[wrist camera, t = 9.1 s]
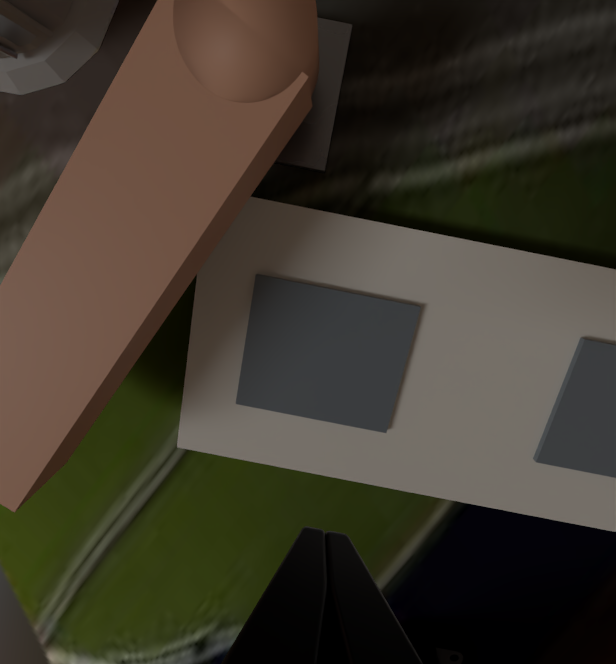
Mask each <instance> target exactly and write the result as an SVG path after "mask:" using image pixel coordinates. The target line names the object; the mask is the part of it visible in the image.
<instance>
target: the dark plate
mask: <svg viewBox="0 0 616 664" xmlns="http://www.w3.org/2000/svg"><path fill="white" fill-rule="evenodd" d="M317 23H318V44H319V74H318V80H317V83H316V86H315V89H314V92H313V94H312V96H311V99H312V108H311V109H310V111H309V112H308V114H307V115H306V117H305V118H304V120H303V121H302V122H301V124H300V125H299V127H298V128H297V130H296V131H295V133H294V134H293V136H292V137H291V138H290V140H289V141H288V143H287V144H286V146H285V147H284V149H283V150H282V151H281V153H280V154H279V156H278V157H277V159H276V160H275V162H274V163H276V164H281V165H286V166H291V167H296V168H301V169H306V170H311V171H316V172H321V173H325V169H326V164H327V159H328V154H329V148H330V143H331V138H332V133H333V127H334V122H335V117H336V112H337V106H338V101H339V96H340V91H341V85H342V80H343V75H344V70H345V64H346V59H347V54H348V48H349V43H350V38H351V31H352V24H347V23H343V22H338V21H333V20H328V19H323V18H318V17H317Z"/></svg>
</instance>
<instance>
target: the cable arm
mask: <svg viewBox="0 0 616 664" xmlns="http://www.w3.org/2000/svg"><path fill="white" fill-rule="evenodd" d="M318 74H319V44H318V23H317V7H316V1H315V0H157V2H156V4H155V6H154V7H153V9H152V11H151V13H150V15H149V17H148V18H147V20H146V22H145V24H144V26H143V27H142V29H141V31H140V33H139V35H138V36H137V38H136V40H135V42H134V44H133V46H132V47H131V49H130V51H129V53H128V55H127V56H126V58H125V60H124V62H123V64H122V66H121V67H120V69H119V71H118V73H117V75H116V76H115V78H114V80H113V82H112V84H111V85H110V87H109V89H108V91H107V93H106V95H105V96H104V98H103V100H102V102H101V104H100V105H99V107H98V109H97V111H96V113H95V115H94V116H93V118H92V120H91V122H90V124H89V125H88V127H87V129H86V131H85V133H84V134H83V136H82V138H81V140H80V142H79V144H78V145H77V147H76V149H75V151H74V153H73V154H72V156H71V158H70V160H69V162H68V164H67V165H66V167H65V169H64V171H63V173H62V174H61V176H60V178H59V180H58V182H57V183H56V185H55V187H54V189H53V191H52V193H51V194H50V196H49V198H48V200H47V202H46V203H45V205H44V207H43V209H42V211H41V213H40V214H39V216H38V218H37V220H36V222H35V223H34V225H33V227H32V229H31V231H30V232H29V234H28V236H27V238H26V240H25V242H24V243H23V245H22V247H21V249H20V251H19V252H18V254H17V256H16V258H15V260H14V262H13V263H12V265H11V267H10V269H9V271H8V272H7V274H6V276H5V278H4V280H3V281H2V283H1V285H0V504H2V505H3V506H5V507H7V508H8V509H10V510H11V511H13V512H15V511H16V510H17V509H19V508H20V507H21V506H22V505H23V504H24V503H25V502H26V501H27V500H28V499H29V498H30V497H31V496H32V495H33V494H34V493H35V492H36V491H37V490H38V489H39V488H41V487H42V486H43V485H44V484H45V483H46V482H47V481H48V480H49V479H50V478H51V477H52V476H53V475H54V474H55V473H56V472H57V471H58V470H59V469H60V468H62V467H63V466H64V465H65V464H66V462H67V461H68V460H69V458H70V457H71V455H72V454H73V452H74V451H75V449H76V448H77V447H78V445H79V444H80V442H81V441H82V439H83V438H84V436H85V435H86V434H87V432H88V431H89V429H90V428H91V426H92V425H93V423H94V422H95V421H96V419H97V418H98V416H99V415H100V413H101V412H102V410H103V409H104V407H105V406H106V405H107V403H108V402H109V400H110V399H111V397H112V396H113V394H114V393H115V392H116V390H117V389H118V387H119V386H120V384H121V383H122V381H123V380H124V379H125V377H126V376H127V374H128V373H129V371H130V370H131V368H132V367H133V366H134V364H135V363H136V361H137V360H138V358H139V357H140V355H141V354H142V353H143V351H144V350H145V348H146V347H147V345H148V344H149V342H150V341H151V339H152V338H153V337H154V335H155V334H156V332H157V331H158V329H159V328H160V326H161V325H162V324H163V322H164V321H165V319H166V318H167V316H168V315H169V313H170V312H171V311H172V309H173V308H174V306H175V305H176V303H177V302H178V300H179V299H180V298H181V296H182V295H183V293H184V292H185V290H186V289H187V287H188V286H189V285H190V283H191V282H192V280H193V279H194V277H195V276H196V274H197V273H198V272H199V270H200V269H201V267H202V266H203V264H204V263H205V261H206V260H207V258H208V257H209V256H210V254H211V253H212V251H213V250H214V248H215V247H216V245H217V244H218V243H219V241H220V240H221V238H222V237H223V235H224V234H225V232H226V231H227V230H228V228H229V227H230V225H231V224H232V222H233V221H234V219H235V218H236V217H237V215H238V214H239V212H240V211H241V209H242V208H243V206H244V205H245V204H246V202H247V201H248V199H249V198H250V196H251V195H252V193H253V192H254V190H255V189H256V188H257V186H258V185H259V183H260V182H261V180H262V179H263V177H264V176H265V175H266V173H267V172H268V170H269V169H270V167H271V166H272V164H273V163H274V162H275V160H276V159H277V157H278V156H279V154H280V153H281V151H282V150H283V149H284V147H285V146H286V144H287V143H288V141H289V140H290V138H291V137H292V136H293V134H294V133H295V131H296V130H297V128H298V127H299V125H300V124H301V122H302V121H303V120H304V118H305V117H306V115H307V114H308V112H309V111H310V109H311V108H312V99H311V96H312V94H313V92H314V89H315V86H316V83H317V80H318Z"/></svg>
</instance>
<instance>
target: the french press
mask: <svg viewBox="0 0 616 664" xmlns="http://www.w3.org/2000/svg"><path fill="white" fill-rule="evenodd" d="M118 2H119V0H0V91H2V92H7V93H13V94H19V95H24V94H27V93H30V92H34V91H37V90H41V89H44V88H48V87H51V86H55V85H58V84H62V83H65V82H66V81H67V80H68V79H69V78H70V77H71V76H72V75H73V74H74V73H75V72H76V71H77V70H78V69H80V68H81V67H82V66H83V65H84V64H85V63H86V62H87V61H88V60H89V59H90V58H91V57H92V56H93V55H94V54H95V53H96V52H98V51H99V48H100V46H101V44H102V41H103V39H104V36H105V34H106V31H107V29H108V26H109V24H110V22H111V19H112V17H113V14H114V12H115V9H116V7H117V5H118Z"/></svg>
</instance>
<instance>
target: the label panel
mask: <svg viewBox="0 0 616 664" xmlns="http://www.w3.org/2000/svg"><path fill="white" fill-rule="evenodd" d="M177 447H179V448H184V449H189V450H194V451H199V452H204V453H210V454H215V455H220V456H225V457H230V458H236V459H241V460H246V461H251V462H256V463H261V464H267V465H272V466H277V467H282V468H287V469H293V470H298V471H303V472H308V473H313V474H318V475H324V476H329V477H334V478H339V479H344V480H350V481H355V482H360V483H365V484H370V485H375V486H381V487H386V488H391V489H396V490H401V491H407V492H412V493H417V494H422V495H427V496H432V497H438V498H443V499H448V500H453V501H458V502H464V503H469V504H474V505H479V506H484V507H489V508H495V509H500V510H505V511H510V512H515V513H521V514H526V515H531V516H536V517H541V518H546V519H552V520H557V521H562V522H567V523H572V524H578V525H583V526H588V527H593V528H598V529H603V530H609V531H614V532H616V269H611V268H606V267H601V266H596V265H591V264H586V263H581V262H576V261H571V260H566V259H561V258H556V257H551V256H546V255H541V254H536V253H531V252H526V251H521V250H516V249H511V248H506V247H501V246H496V245H491V244H486V243H481V242H476V241H471V240H466V239H460V238H455V237H450V236H445V235H440V234H435V233H430V232H425V231H420V230H415V229H410V228H405V227H400V226H395V225H390V224H385V223H380V222H375V221H370V220H365V219H360V218H355V217H350V216H345V215H340V214H335V213H330V212H325V211H320V210H315V209H310V208H305V207H300V206H295V205H290V204H285V203H280V202H275V201H270V200H265V199H260V198H255V197H250V198H249V199H248V201H247V202H246V204H245V205H244V206H243V208H242V209H241V211H240V212H239V214H238V215H237V217H236V218H235V219H234V221H233V222H232V224H231V225H230V227H229V228H228V230H227V231H226V232H225V234H224V235H223V237H222V238H221V240H220V241H219V243H218V244H217V245H216V247H215V248H214V250H213V251H212V253H211V254H210V256H209V257H208V258H207V260H206V261H205V263H204V264H203V266H202V267H201V269H200V270H199V272H198V273H197V279H196V288H195V296H194V305H193V314H192V322H191V331H190V339H189V348H188V356H187V365H186V374H185V382H184V391H183V399H182V408H181V416H180V425H179V434H178V442H177Z"/></svg>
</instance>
